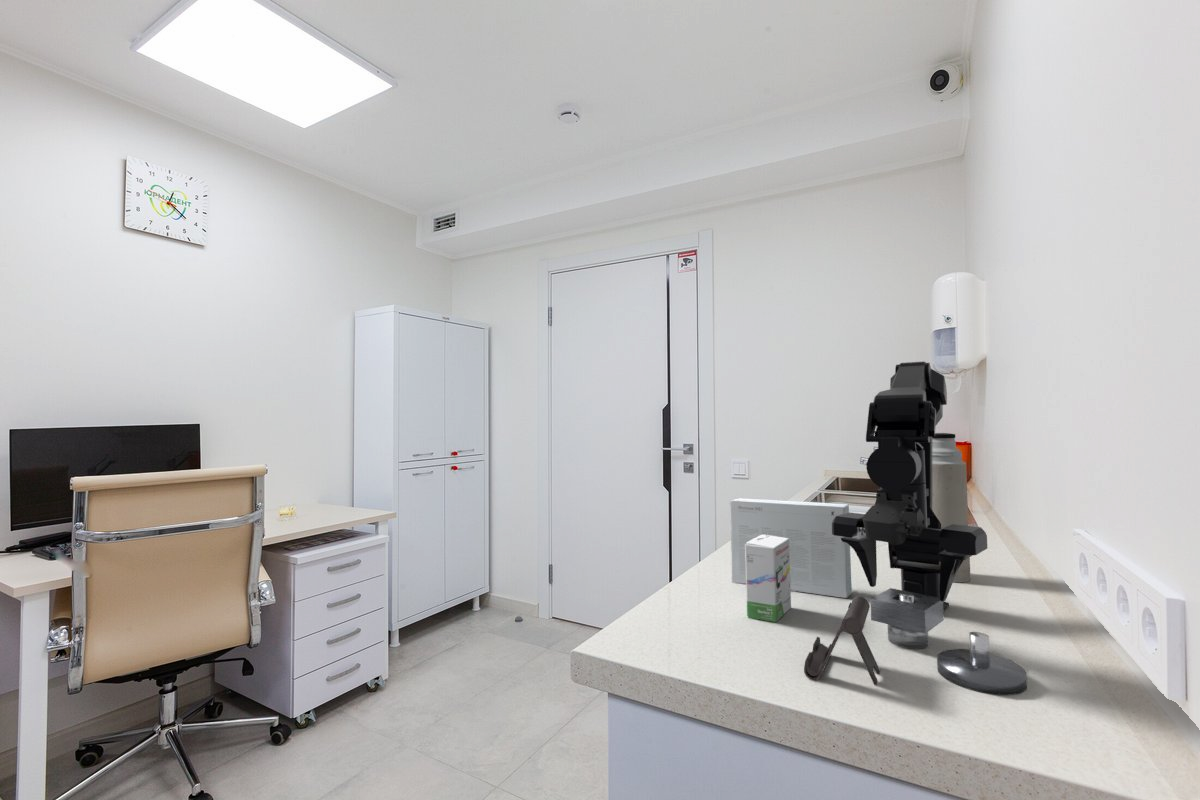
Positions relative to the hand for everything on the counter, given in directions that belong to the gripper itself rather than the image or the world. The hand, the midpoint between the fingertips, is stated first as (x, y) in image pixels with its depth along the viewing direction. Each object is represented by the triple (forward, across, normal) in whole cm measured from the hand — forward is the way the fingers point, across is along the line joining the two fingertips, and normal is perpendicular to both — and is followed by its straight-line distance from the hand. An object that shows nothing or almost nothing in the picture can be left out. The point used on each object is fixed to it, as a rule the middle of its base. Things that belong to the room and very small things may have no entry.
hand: (906, 593), depth 80 cm
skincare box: (+7, -25, +12) cm, 29 cm away
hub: (+7, +10, -5) cm, 13 cm away
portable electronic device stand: (+7, -2, -15) cm, 17 cm away
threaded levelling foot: (+7, 0, 0) cm, 7 cm away
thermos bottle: (+7, -7, +39) cm, 40 cm away
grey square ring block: (+4, 0, 0) cm, 4 cm away
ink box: (+7, -20, -3) cm, 21 cm away
